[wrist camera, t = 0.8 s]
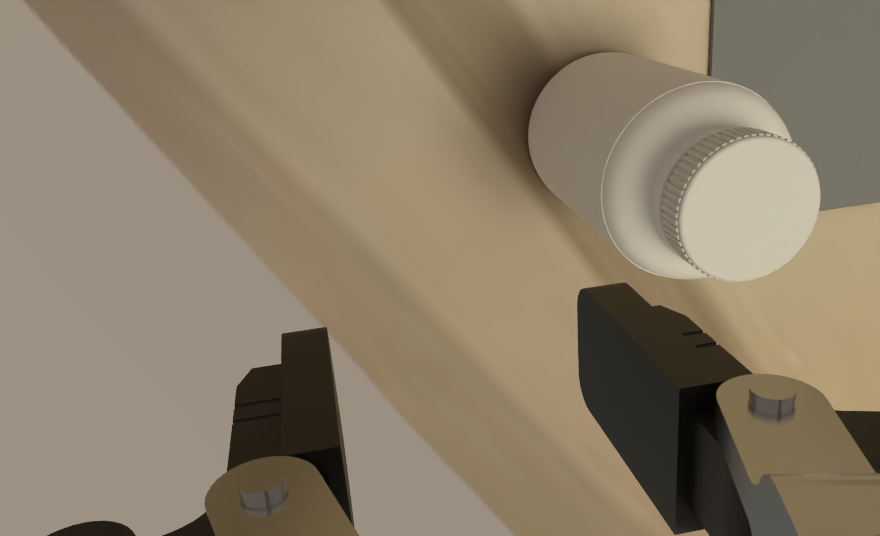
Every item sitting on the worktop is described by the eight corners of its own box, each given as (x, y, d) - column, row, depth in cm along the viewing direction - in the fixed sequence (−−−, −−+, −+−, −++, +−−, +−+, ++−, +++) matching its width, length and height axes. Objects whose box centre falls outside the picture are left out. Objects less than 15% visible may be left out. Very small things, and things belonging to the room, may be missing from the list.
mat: (702, 225, 44) (705, 227, 44) (711, -4, 40) (714, -4, 39) (991, 184, 47) (995, 185, 46) (1030, -36, 42) (1035, -36, 42)
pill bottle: (498, 95, 40) (613, 164, 26) (642, 22, 40) (834, 51, 26) (555, 230, 43) (685, 356, 29) (689, 162, 43) (883, 256, 29)
